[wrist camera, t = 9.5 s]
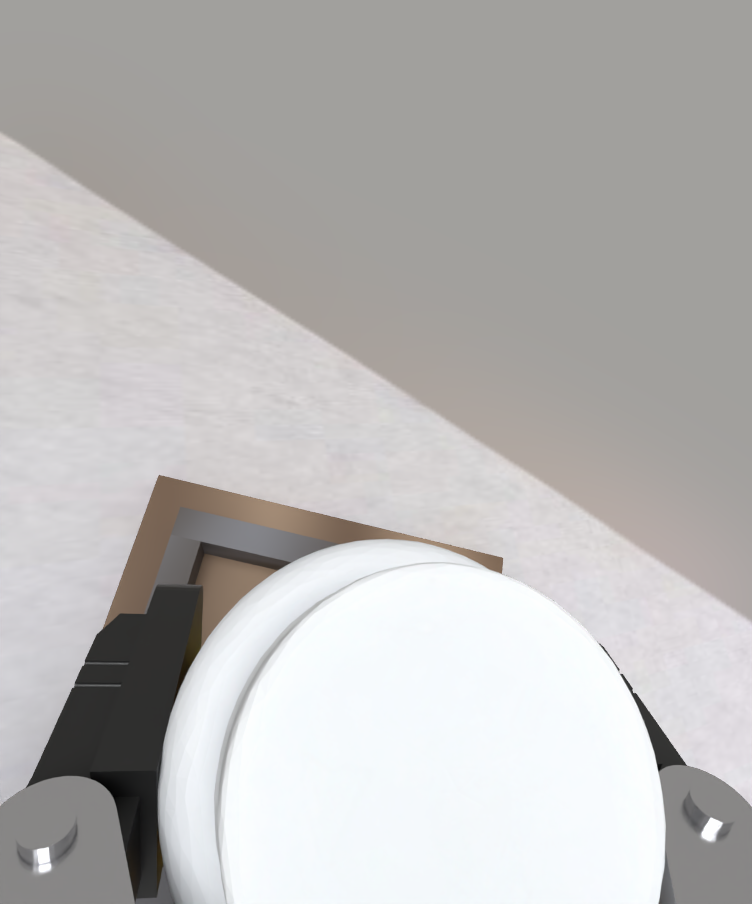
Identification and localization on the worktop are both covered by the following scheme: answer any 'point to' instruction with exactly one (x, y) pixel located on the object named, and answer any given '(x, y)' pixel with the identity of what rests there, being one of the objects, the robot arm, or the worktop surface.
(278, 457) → the worktop surface
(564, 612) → the supplement bottle
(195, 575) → the collar base
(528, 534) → the worktop surface
